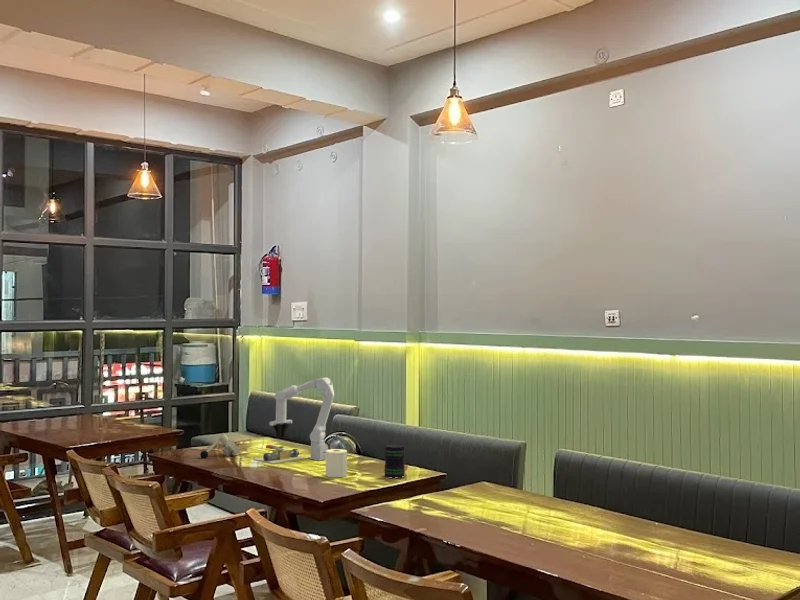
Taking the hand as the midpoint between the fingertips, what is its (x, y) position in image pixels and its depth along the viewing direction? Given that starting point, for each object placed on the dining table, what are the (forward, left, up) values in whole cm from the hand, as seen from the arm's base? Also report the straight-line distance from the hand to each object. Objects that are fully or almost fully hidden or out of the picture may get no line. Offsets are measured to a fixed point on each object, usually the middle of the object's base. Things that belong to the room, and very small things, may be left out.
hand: (280, 437), depth 423 cm
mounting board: (-5, +5, -10) cm, 13 cm away
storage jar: (-79, -6, -11) cm, 80 cm away
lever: (-3, +5, -5) cm, 8 cm away
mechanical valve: (+22, +24, -11) cm, 34 cm away
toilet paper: (-58, +13, -11) cm, 61 cm away
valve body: (-7, +5, -10) cm, 14 cm away
